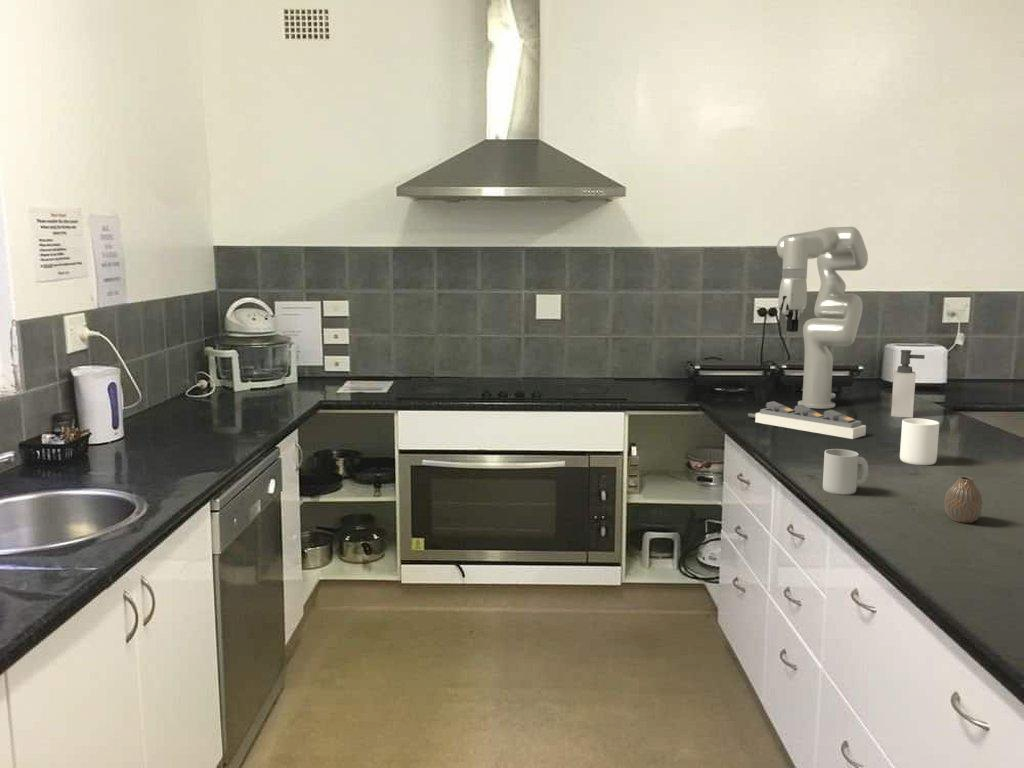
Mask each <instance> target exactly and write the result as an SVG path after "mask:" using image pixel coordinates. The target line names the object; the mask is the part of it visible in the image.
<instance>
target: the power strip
mask: <svg viewBox="0 0 1024 768" xmlns="http://www.w3.org/2000/svg"><path fill="white" fill-rule="evenodd" d="M747 417H749V418H753V419H755V420H754V422H755V423H759V424H763V425H769V426H776V427H781V428H787V429H792V430H798V431H805V432H810V433H816V434H821V435H826V436H832V437H833V436H834V437H839V438H844V439H848V440H849V439H850V440H855V439H858V438H861V437H865V436H866V431H867V426H866V425H865V424H862V420H858V419H857V420H856V419H855V422H851V423H846V422H839V421H834V420H833V419H831V418H828V417H826V416H824V417H821V418H814V417H808V416H804V415H802V414H801V413H799V412H797V411H795V412H793V413H782V412H776V411H775V410H772V409H770V408H768V407H765V408H761V409H760V410H759V412H755V413H751V412H749V413H747Z"/></svg>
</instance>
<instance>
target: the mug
mask: <svg viewBox="0 0 1024 768" xmlns="http://www.w3.org/2000/svg"><path fill="white" fill-rule="evenodd" d="M939 431H940V422H939V421H937V420H933V419H927V418H920V417H919V418H914V417H913V418H910V417H908V418H904V419H902V420H901V434H900V435H901V436H900V445H899V447H900V449H899V459H900V461H901V462H903V463H906V464H908V465H914V466H932V465H934V464H936V463H937V459H938V445H939Z"/></svg>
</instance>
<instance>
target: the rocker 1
mask: <svg viewBox="0 0 1024 768" xmlns="http://www.w3.org/2000/svg"><path fill="white" fill-rule="evenodd" d="M765 408H770V409H772V410H775V411H776V412H782V413H793V412H795V410H794V409H793V408H790V407H789V406H786V404H781V403H780V402H776V401H774V400H773V401H769V402H768V401H767V402H766V404H765Z"/></svg>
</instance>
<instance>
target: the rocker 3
mask: <svg viewBox="0 0 1024 768" xmlns="http://www.w3.org/2000/svg"><path fill="white" fill-rule="evenodd" d="M822 415H823V416H826V417H828V418H831V419H833V420H834V421H839V422H846V423H851V422H855V420H856V419H855V418H853V417H851V416H848V415H846V414H845V413H841V412H838V411H836V410H834V409H828V410H825V411H824V412H823V414H822Z"/></svg>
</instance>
